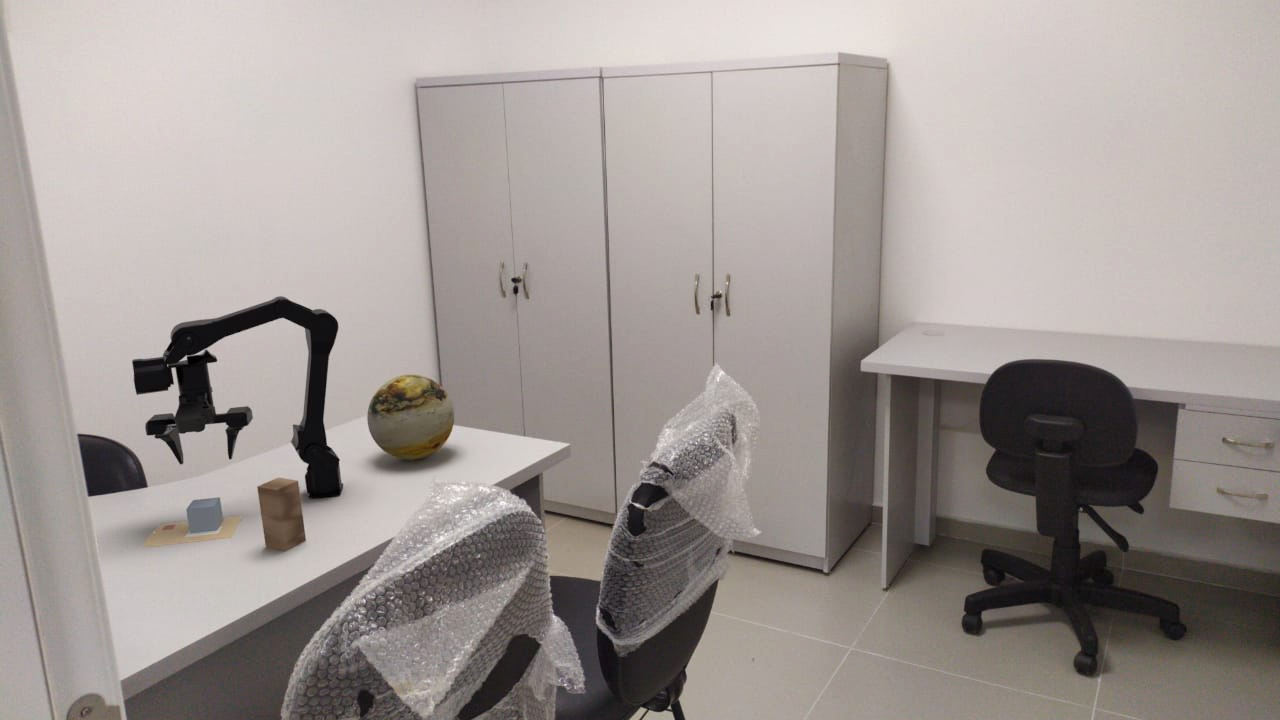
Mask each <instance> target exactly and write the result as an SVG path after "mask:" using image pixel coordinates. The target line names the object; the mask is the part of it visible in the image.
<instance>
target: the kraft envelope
mask: <svg viewBox="0 0 1280 720" xmlns="http://www.w3.org/2000/svg"><path fill="white" fill-rule="evenodd" d="M243 518H244V515H240V516H239V515H238V516H228V517H223V522H222V524H221V525H220V527H219V529H218V530H215V531H206V532H197V533H190V529H189V523H188V521H184V522H183V521H182V522H174V523H164V524H158V525H157V527H156V528H155V529H154V530H153V532H155V533H153V532H152V533H151V534H150V535H149V537H148V538H147V539H146V540H145V541H144V543H143V544H142V545H143V546H142V545H141V547H143V548H151V547H161V546H169V545H178V544H186V543H196V542H206V541H215V540H222V539H232V537H233V534H235V531H236V530H237V528H238V526H239V524H240V522H241V521H242V519H243Z"/></svg>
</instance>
